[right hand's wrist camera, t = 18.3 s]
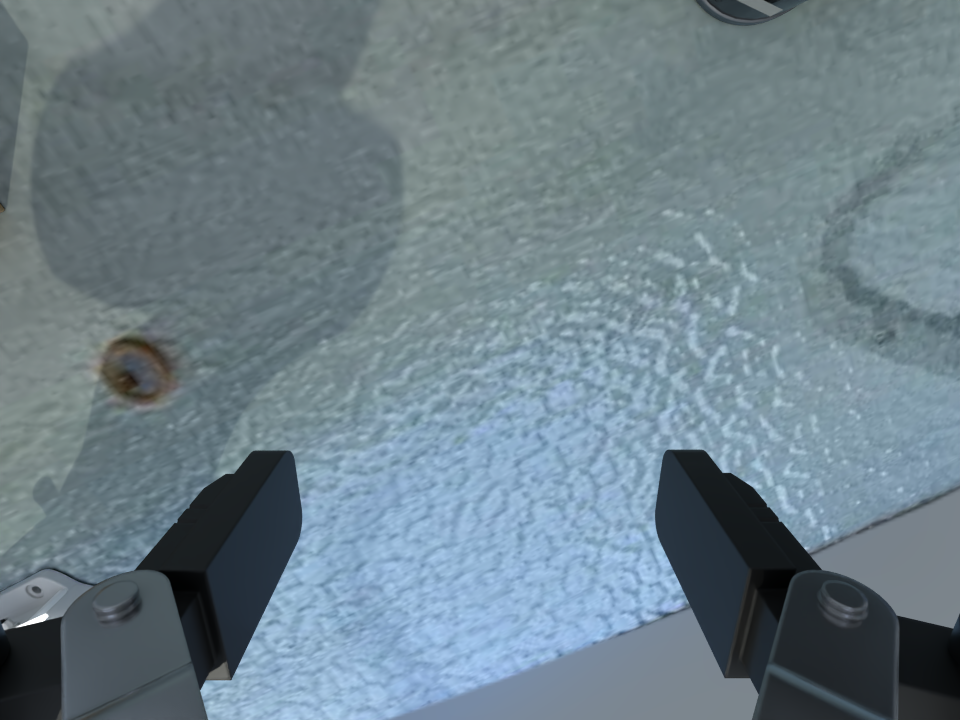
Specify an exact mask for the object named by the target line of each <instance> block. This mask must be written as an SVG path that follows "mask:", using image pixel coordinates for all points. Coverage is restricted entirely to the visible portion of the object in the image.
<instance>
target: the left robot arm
mask: <svg viewBox="0 0 960 720" xmlns="http://www.w3.org/2000/svg"><path fill="white" fill-rule="evenodd" d="M92 587H93V586H92V585H87V584H83V583H80V582H78V581H76V580H74V579H72V578H70V577H68V576H66V575H64V574H62V573H60V572H58V571H55V570H52V569H44V570H41V571H39V572H37V573H35V574H34V575H32V576H30V577H28V578H26V579H24V580H22V581H20V582H18V583H17V584H15V585H13V586H11V587H9V588H7V589H5V590H3V591H1V592H0V622H1V624H2V626H3V629H4V630H7V629H11V628H16V627H20V626H24V625H29V624H33V623H37V622H41V621H46V620H50V619H54V618H58V617H62V616H64V614H65V612H66V611H67V609H68V608H69V606H70V605H71V604H72V603H73V602H74V601H75V600H76V599H77V598H78V597H79V596H80V595H82V594H83V593H84V592H86V591H87V590H88V589H90V588H92Z"/></svg>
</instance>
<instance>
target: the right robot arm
mask: <svg viewBox="0 0 960 720" xmlns="http://www.w3.org/2000/svg"><path fill="white" fill-rule="evenodd" d="M696 1H697V3H698V4H699V5H700V6H701V7H702V8H703V9H704V10H705V11H706V12H707V13H709V14H710V15H712V16H713V17H715V18H717V19H718V20H721V21H723V22H726V23H729V24H734V25H755V24H760V23H764V22H767V21H769V20H772V19H774V18H776V17H778V16H781V15H783V14H784V13H786V12H788V11H790V10H791V9H793V8H794V7H796V6H797V5H799V4H801V3H803V2H805V1H807V0H696ZM655 523H656V530H657V534H658V538H659V540H660V543H661V545H662V547H663V549H664V551H665V553H666V555H667V557H668V559H669V562H670V564H671V566H672V568H673V570H674V572H675V574H676V576H677V578H678V581H679V583H680V585H681V587H682V589H683V591H684V593H685V595H686V597H687V600H688V602H689V604H690V606H691V608H692V610H693V612H694V614H695V616H696V618H697V620H698V623H699V625H700V627H701V629H702V631H703V633H704V635H705V637H706V640H707V642H708V644H709V646H710V648H711V650H712V652H713V654H714V656H715V659H716V661H717V663H718V665H719V667H720V669H721V671H722V673H723V675H724V677H725V678H750V679H751V681H752V683H753V684H754V686H755V688H756V690H757V692H758V694H759V696H758V700H757V703H756V707H755V711H754V714H753V718H752V720H960V615H959V617H958V619H957V622H956V624H955V626H954V629H952V628H948V627H944V626H939V625H935V624H931V623H926V622H922V621H918V620H914V619H909V618H905V617H900V616H897V615H896V614H895V612H894V611H893V609H892V608H891V606H890V605H889V604H888V603H887V602H886V601H885V600H884V599H883V598H882V597H881V596H880V595H878V594H877V593H876V592H874V591H873V590H871V589H870V588H868V587H867V586H865V585H863V584H862V583H860V582H858V581H856V580H854V579H851V578H849V577H847V576H844V575H841V574H838V573H834V572H830V571H823V570H822V569H821V568H820V567H819V566H818V565H817V563H816V562H815V561H814V560H813V559H812V557H811V556H810V555H809V554H808V553H807V552H806V550H805V549H804V548H803V547H802V546H801V544H800V543H799V542H798V541H797V540H796V538H795V537H794V536H793V535H792V534H791V532H790V531H789V530H788V529H787V528H786V526H785V525H784V524H783V523H782V522H779V520H778V517H777V516H776V515H775V513H774V512H773V511H772V510H771V509H770V507H767V504H766V503H765V501H764V500H763V499H762V498H761V497H760V495H759V494H758V493H757V492H756V491H755V489H754V488H753V487H751V486H750V485H748V484H747V483H745V482H744V481H742V480H741V479H739V478H738V477H736V476H735V475H733V474H732V473H722V472H721V470H720V469H719V468H718V466H717V465H716V464H715V463H714V461H713V460H712V459H711V458H710V456H709V455H708V454H707V453H706V451H704V450H667V451H666V452H665V453H664V456H663V460H662V467H661V474H660V481H659V488H658V495H657V502H656V509H655ZM301 527H302V508H301V501H300V494H299V487H298V480H297V473H296V466H295V460H294V456H293V454H292V452H290V451H253V452H251V453H250V454H249V456H248V457H247V458H246V460H245V461H244V462H243V463H242V465H241V466H240V467H239V468H238V470H237V471H236V472H235V473H234V474H225V475H224V476H222V477H221V478H219V479H218V480H216V481H215V482H213V483H211V484H210V485H208V486H207V487H205V488H204V489H203V490H202V491H201V492H200V494H199V495H198V496H197V497H196V498H195V500H194V501H193V502H192V503H191V504H190V508H189V509H186V510H185V511H184V513H183V514H182V515H181V516H180V517H179V518H178V522H177V523H174V524H173V526H172V527H171V528H170V529H169V530H168V531H167V533H166V534H165V535H164V536H163V537H162V539H161V540H160V541H159V542H158V543H157V544H156V546H155V547H154V548H153V549H152V550H151V552H150V553H149V554H148V555H147V556H146V557H145V559H144V560H143V561H142V562H141V563H140V565H139V566H138V567H137V568H136V569H135V570H134V571H130V572H126V573H122V574H119V575H116V576H113V577H111V578H109V579H106V580H104V581H102V582H100V583H98V584H96V585H95V586H93V587H92V588H90V589H88V590H87V591H86V592H84V593H83V594H82V595H80V596H79V597H78V598H77V599H76V600H75V601H74V602H73V603H72V604H71V605H70V606H69V608H68V609H67V611H66V612H65V614H64V616H62V617H58V618H54V619H50V620H46V621H41V622H37V623H33V624H29V625H24V626H20V627H16V628H11V629H7V630H4V629H3V626H2V624H1V622H0V720H208V718H207V714H206V711H205V707H204V703H203V700H202V696H201V692H200V690H201V688H202V686H203V684H204V682H205V680H232V677H233V675H234V673H235V671H236V669H237V667H238V665H239V663H240V661H241V659H242V657H243V655H244V653H245V650H246V648H247V646H248V644H249V642H250V640H251V638H252V636H253V634H254V632H255V630H256V628H257V625H258V623H259V621H260V619H261V617H262V615H263V613H264V611H265V609H266V607H267V605H268V603H269V600H270V598H271V596H272V594H273V592H274V590H275V588H276V586H277V584H278V582H279V580H280V578H281V575H282V573H283V571H284V569H285V567H286V565H287V563H288V561H289V559H290V557H291V555H292V553H293V550H294V548H295V546H296V544H297V542H298V540H299V537H300V533H301Z"/></svg>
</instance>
